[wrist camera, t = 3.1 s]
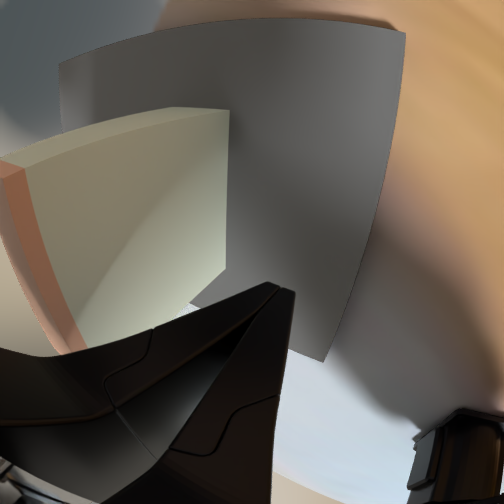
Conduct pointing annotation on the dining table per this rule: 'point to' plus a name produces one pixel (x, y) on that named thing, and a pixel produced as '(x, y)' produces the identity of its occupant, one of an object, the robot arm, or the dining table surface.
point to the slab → (117, 222)
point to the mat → (270, 142)
